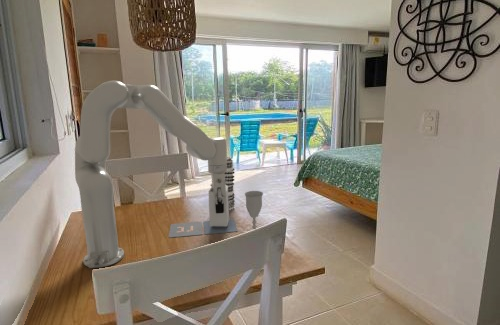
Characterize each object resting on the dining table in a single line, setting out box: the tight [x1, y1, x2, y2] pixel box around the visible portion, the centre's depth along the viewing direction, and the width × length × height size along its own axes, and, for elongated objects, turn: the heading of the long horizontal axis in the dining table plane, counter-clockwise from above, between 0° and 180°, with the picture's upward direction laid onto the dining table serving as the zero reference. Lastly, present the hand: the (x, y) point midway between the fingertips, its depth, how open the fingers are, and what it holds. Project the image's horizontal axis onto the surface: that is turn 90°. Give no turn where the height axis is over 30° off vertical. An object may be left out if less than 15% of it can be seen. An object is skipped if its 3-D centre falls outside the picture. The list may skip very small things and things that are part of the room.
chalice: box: [244, 190, 264, 230], centre depth 117 cm, size 7×7×18 cm
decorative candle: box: [225, 156, 236, 211], centre depth 150 cm, size 9×9×25 cm
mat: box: [203, 218, 238, 235], centre depth 130 cm, size 13×13×1 cm
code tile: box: [168, 221, 203, 239], centre depth 128 cm, size 13×13×1 cm
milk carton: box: [208, 183, 230, 226], centre depth 128 cm, size 7×7×19 cm
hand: (218, 209), depth 129 cm, fingers closed on milk carton, 8 cm apart
